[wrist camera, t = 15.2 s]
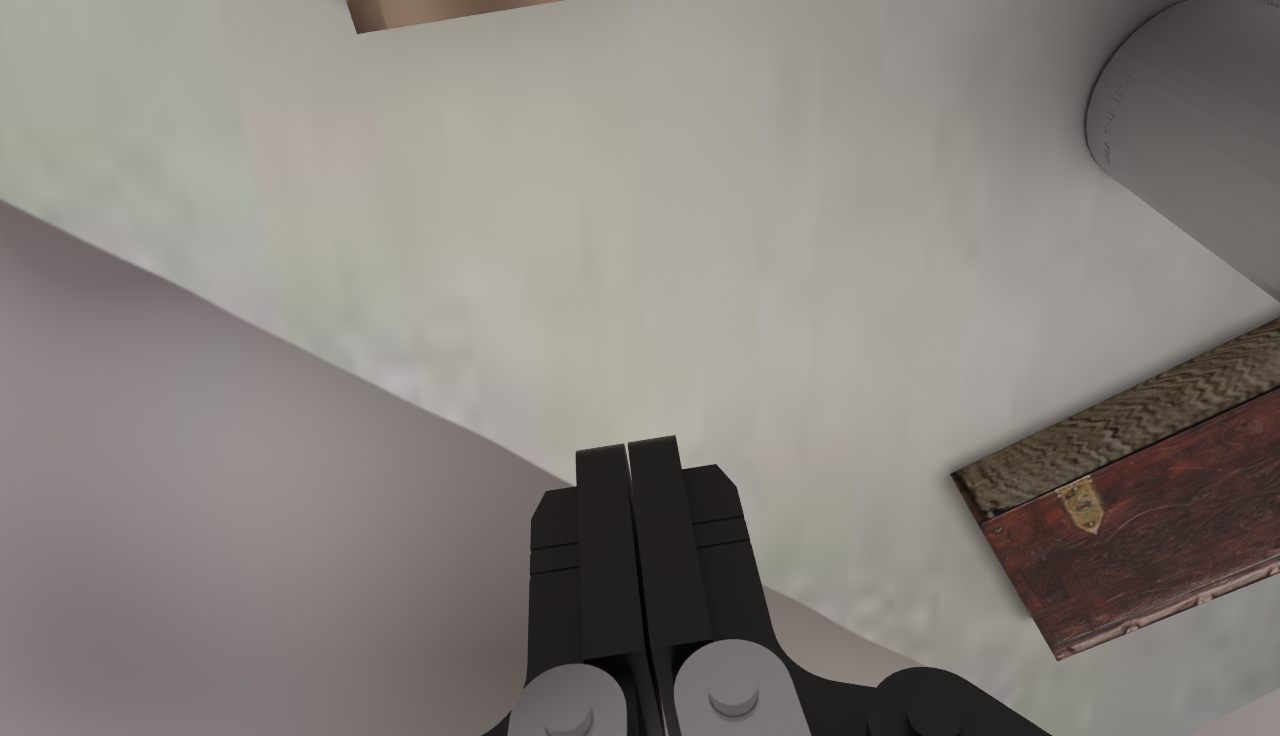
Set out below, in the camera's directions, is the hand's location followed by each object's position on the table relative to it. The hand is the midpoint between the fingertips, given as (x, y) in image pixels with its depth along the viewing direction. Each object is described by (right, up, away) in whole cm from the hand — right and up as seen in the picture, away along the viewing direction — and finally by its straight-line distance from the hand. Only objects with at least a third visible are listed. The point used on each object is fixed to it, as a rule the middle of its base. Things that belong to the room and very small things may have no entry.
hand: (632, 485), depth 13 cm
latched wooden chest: (+37, -4, +44) cm, 58 cm away
